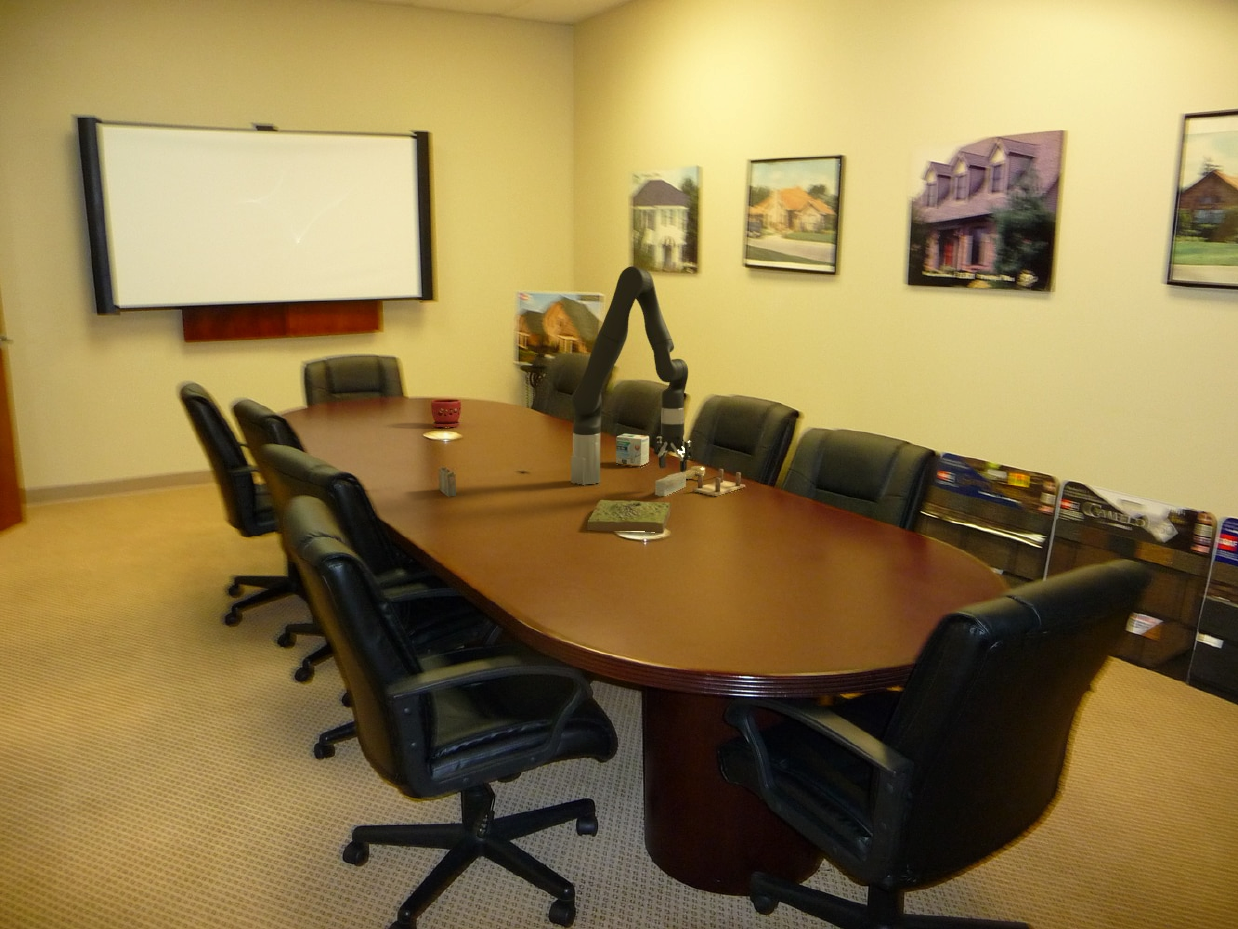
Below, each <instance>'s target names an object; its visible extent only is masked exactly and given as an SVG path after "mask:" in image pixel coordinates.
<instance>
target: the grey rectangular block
mask: <svg viewBox="0 0 1238 929" xmlns="http://www.w3.org/2000/svg"><path fill="white" fill-rule="evenodd" d="M672 474H673V475H671V474H670V475H671V476H668V477H666V476H665V477H663V478H660V479H657V480H655V483H654V484H655V485H654V487H655V490H654V496H655V495H658V496H657V497H661V496H666V497H668V496H670V495H669V494H671V495H673V494H674V493H673V492H676V491H678V490H680V489H682V488H684V487H686V486H687V480H686V474H679V472H676V474H675V473H672ZM686 488H687V487H686ZM678 492H679V491H678ZM672 493H673V494H672ZM676 493H677V492H676ZM667 495H668V496H667Z"/></svg>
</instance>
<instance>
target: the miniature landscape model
mask: <svg viewBox="0 0 1238 929" xmlns="http://www.w3.org/2000/svg"><path fill="white" fill-rule="evenodd" d="M670 515H671V502H665V501H663V502H661V501H657V502H656V501H639V500H634V499H633V500H630V499H629V500H608V499H607V500H606V499H600V500H599V501H598V502H597V505H596V506H595V508H594V510H593V512H592V514H591V515H590V516H589V518H588V520H587V528H586V529H587V531H590V530H597V532H598V531H599V532H611V531H645V532H655V533H663V534H664V532H665V530H666V527H667V524H668V521H669V519H670V518H669V517H670ZM666 523H667V524H666ZM665 526H666V527H665ZM655 533H654V534H655Z"/></svg>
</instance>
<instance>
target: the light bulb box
mask: <svg viewBox="0 0 1238 929" xmlns="http://www.w3.org/2000/svg"><path fill="white" fill-rule="evenodd" d="M615 441H616V442H615V444H616V445H615V446H616V447H615V448H616V449H615V450H616V451H615V464H616V463H623V464H631V465H639V466H641V465H644V464H646V463H648V462H650V456H649V455H650V436H649V435H641V434H631V433H623V434H620V435H618V436H616V440H615Z"/></svg>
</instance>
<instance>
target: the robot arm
mask: <svg viewBox="0 0 1238 929" xmlns="http://www.w3.org/2000/svg"><path fill="white" fill-rule="evenodd" d="M635 301H637V303H638V304H639V307H640V309H641V312H642V316H643V321H644V329H645V330H644V331H645V334H646V337H647V340H648V342H649V344H650V347H651V350H652V352H653V360H654V366H655V372H656V374H657V376H658V378H659V379H660V380H661V381H662V382H664V383H668V387H667V388H665V389H664V390H662V392H661V413H660V417H661V418H660V421H661V422H660V430H661V431H660V435H658V436H655V437H654V440H653V454H654V456H655V455H656V456H657V457H658V466H659V469H665V468H667V467H666V466H667V465H666V463H667V462H666V458H667V457H666V455H667V454H668V453H670V452H671V453H674V454H675V455H676V456H677V457H678V458H679V460H680V461H679V472H685V471H687V469H688V460H690V459H693V445H692V444H693V442H692V440H684V436H685V408H684V401H685V400H684V399H685V398H684V394H685V392H686V388H687V382H688V378H689V368H688V365H687V363H686V361H685V360H683V359H681V358H674V359H672V358H671V353H672V352H673V351H674V349H675V344H674V342H673V339H672V336H671V334H670V332H669V329H668V327H667V325H666V322H665V319H664V317H663V316H664V315H663V314H662V310H661V307H660V303H659V300H658V296H657V291H656V287H655V283H654V279H653V276H652V274H651V273H650V272H649V271H648V270H647V269H644V268H641V267H637V266H628V267H626V268H624V269H623V270H622V271H621V273H620V275H619V277H618V280H617V283H616V286H615V289H614V292H613V296H612V298H611V302H610V306H608V307H609V308H608V310H607V313H606V314H605V317H604V320H603V322H602V324H601V327H600V328H599V331H598V334H597V335H596V338H595V340H594V344H593V347H592V349H591V352H590V355H589V359H588V362H587V365H586V367H585V368H586V369H585V370H584V373H583V375H582V377H581V379H580V381H579V383H578V384H577V387H576V388H575V390H574V392H573V394H572V395H571V405H572V408H573V409H574V419H573V425H572V433H573V434H572V455H570V468H571V469H570V481H571V482H570V483H571V484H575V483H577V484H576V485H579V484H582V485H581V486H583V485H584V486H586V485H585V484H594V485H596V484H595V483H598V484H600V483H601V426H602V416H603V415H602V406H603V405H602V404H603V400H602V391H603V387H604V385H605V381H607V380H606V379H607V377H608V376H609V374H610V373H611V371H612V370H613V368H614V366H615V364H616V363H617V361H618V359H619V357H620V355H621V353H622V351H623V349H624V348H623V347H624V345H625V344H626V341H627V337H628V332H629V319H630V313H631V311H632V308H633V306H634V303H635Z"/></svg>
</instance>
